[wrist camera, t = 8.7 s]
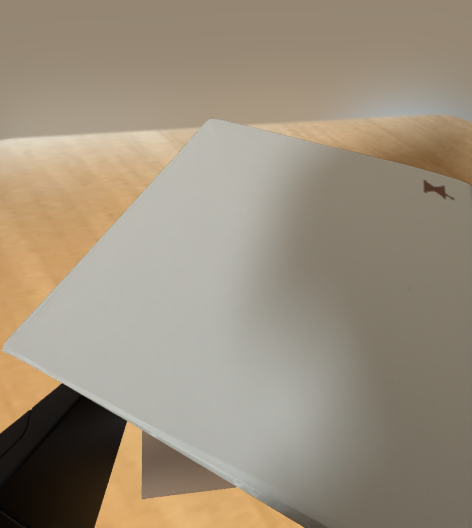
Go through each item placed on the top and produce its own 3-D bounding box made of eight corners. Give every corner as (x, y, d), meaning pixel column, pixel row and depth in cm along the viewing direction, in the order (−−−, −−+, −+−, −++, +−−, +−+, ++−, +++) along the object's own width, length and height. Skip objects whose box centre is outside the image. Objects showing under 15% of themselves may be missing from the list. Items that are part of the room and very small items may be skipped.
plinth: (371, 444, 17) (399, 468, 14) (159, 471, 17) (140, 500, 14) (321, 247, 22) (334, 233, 19) (157, 267, 22) (143, 256, 19)
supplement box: (221, 287, 18) (210, 107, 7) (315, 325, 16) (491, 177, 5) (171, 386, 14) (-28, 346, 3) (286, 446, 13) (638, 742, 2)
